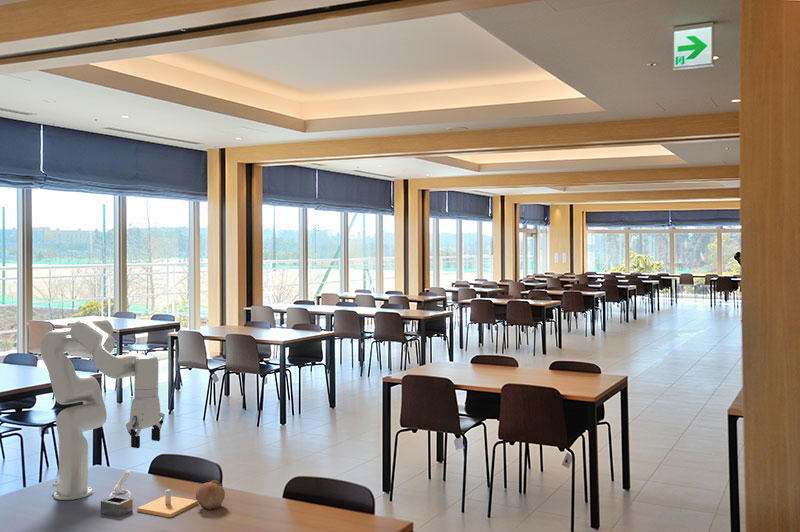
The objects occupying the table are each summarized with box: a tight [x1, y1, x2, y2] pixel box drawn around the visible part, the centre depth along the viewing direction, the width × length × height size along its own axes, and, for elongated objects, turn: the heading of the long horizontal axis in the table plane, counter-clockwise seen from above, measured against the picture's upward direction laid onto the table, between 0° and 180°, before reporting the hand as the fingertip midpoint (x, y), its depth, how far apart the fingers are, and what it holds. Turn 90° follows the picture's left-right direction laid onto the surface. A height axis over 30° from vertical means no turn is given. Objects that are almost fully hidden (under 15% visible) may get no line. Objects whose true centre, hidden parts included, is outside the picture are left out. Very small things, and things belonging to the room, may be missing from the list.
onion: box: [195, 479, 226, 510], centre depth 236 cm, size 10×9×10 cm
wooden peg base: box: [136, 489, 199, 518], centre depth 236 cm, size 14×14×6 cm
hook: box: [108, 469, 133, 499], centre depth 246 cm, size 8×12×7 cm
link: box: [100, 496, 134, 517], centre depth 231 cm, size 8×6×4 cm
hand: (145, 444), depth 231 cm, fingers open, 9 cm apart
